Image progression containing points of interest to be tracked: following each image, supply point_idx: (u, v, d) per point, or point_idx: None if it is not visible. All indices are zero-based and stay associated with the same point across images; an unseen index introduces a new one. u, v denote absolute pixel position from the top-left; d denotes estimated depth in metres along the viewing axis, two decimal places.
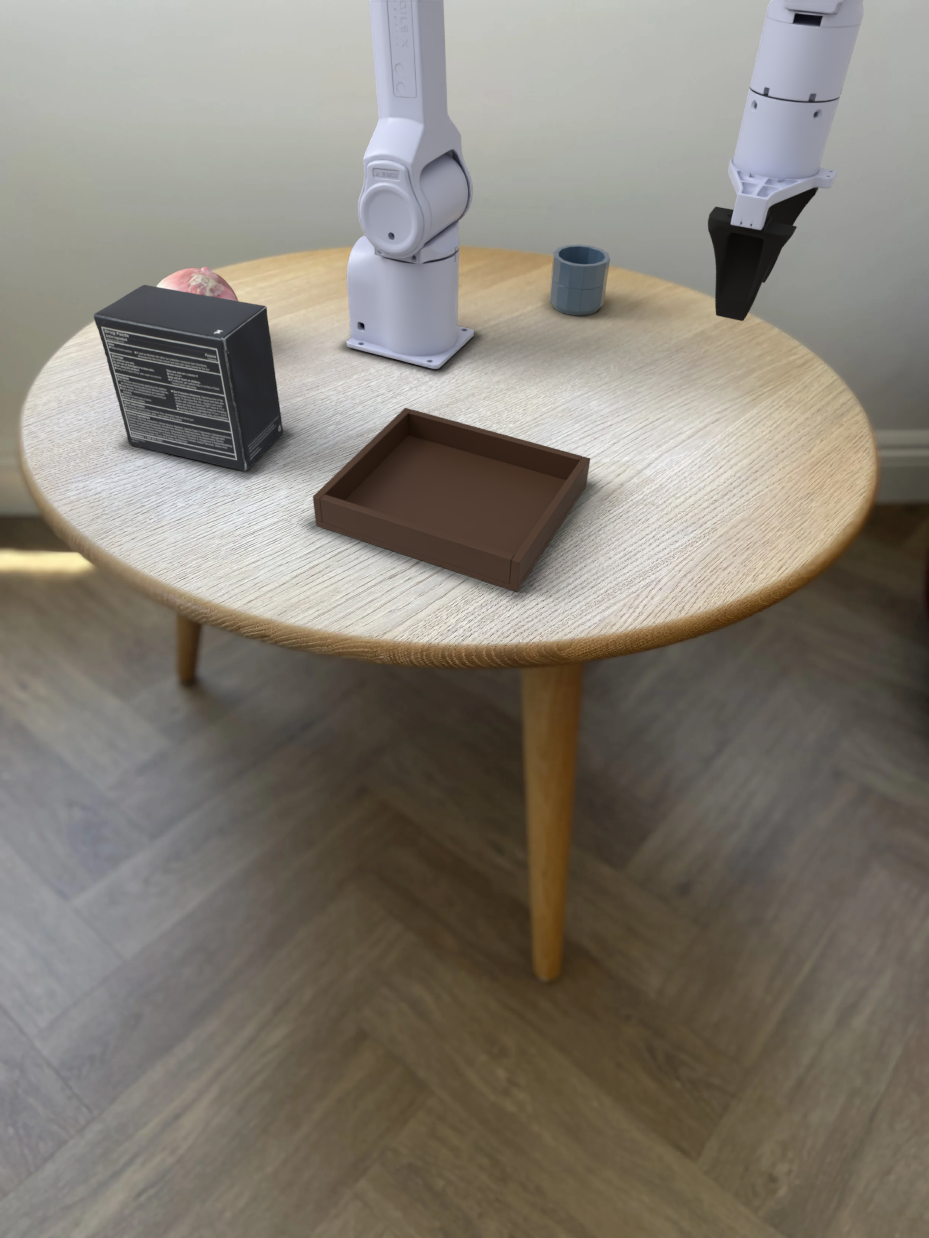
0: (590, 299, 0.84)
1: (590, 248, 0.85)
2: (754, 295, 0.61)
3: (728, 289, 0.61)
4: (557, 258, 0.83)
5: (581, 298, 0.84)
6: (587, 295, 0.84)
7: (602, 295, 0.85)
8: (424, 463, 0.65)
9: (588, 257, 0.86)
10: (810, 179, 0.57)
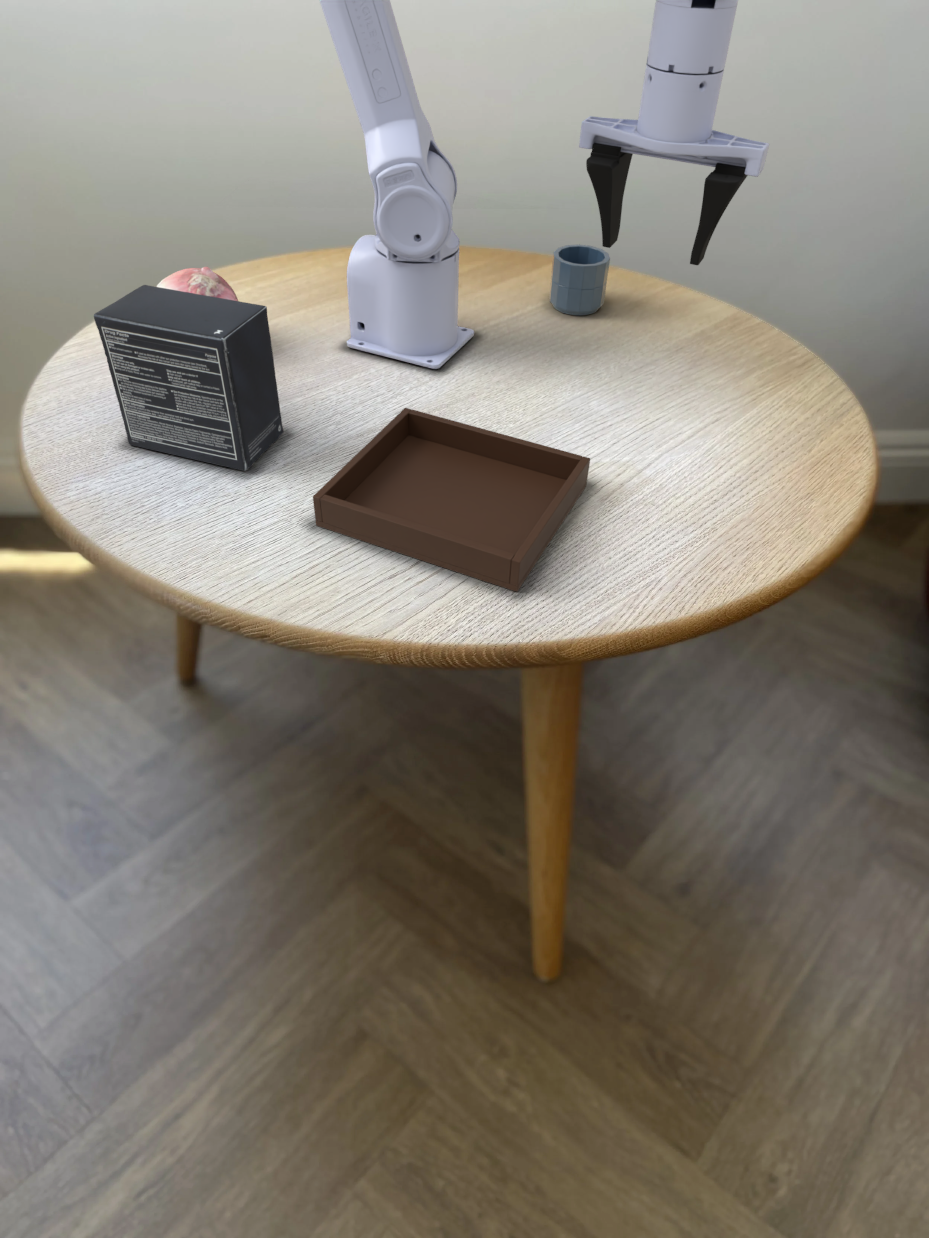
0: (590, 299, 0.84)
1: (590, 248, 0.85)
2: (713, 231, 0.72)
3: None
4: (557, 258, 0.83)
5: (581, 298, 0.84)
6: (587, 295, 0.84)
7: (602, 295, 0.85)
8: (424, 463, 0.65)
9: (588, 257, 0.86)
10: None
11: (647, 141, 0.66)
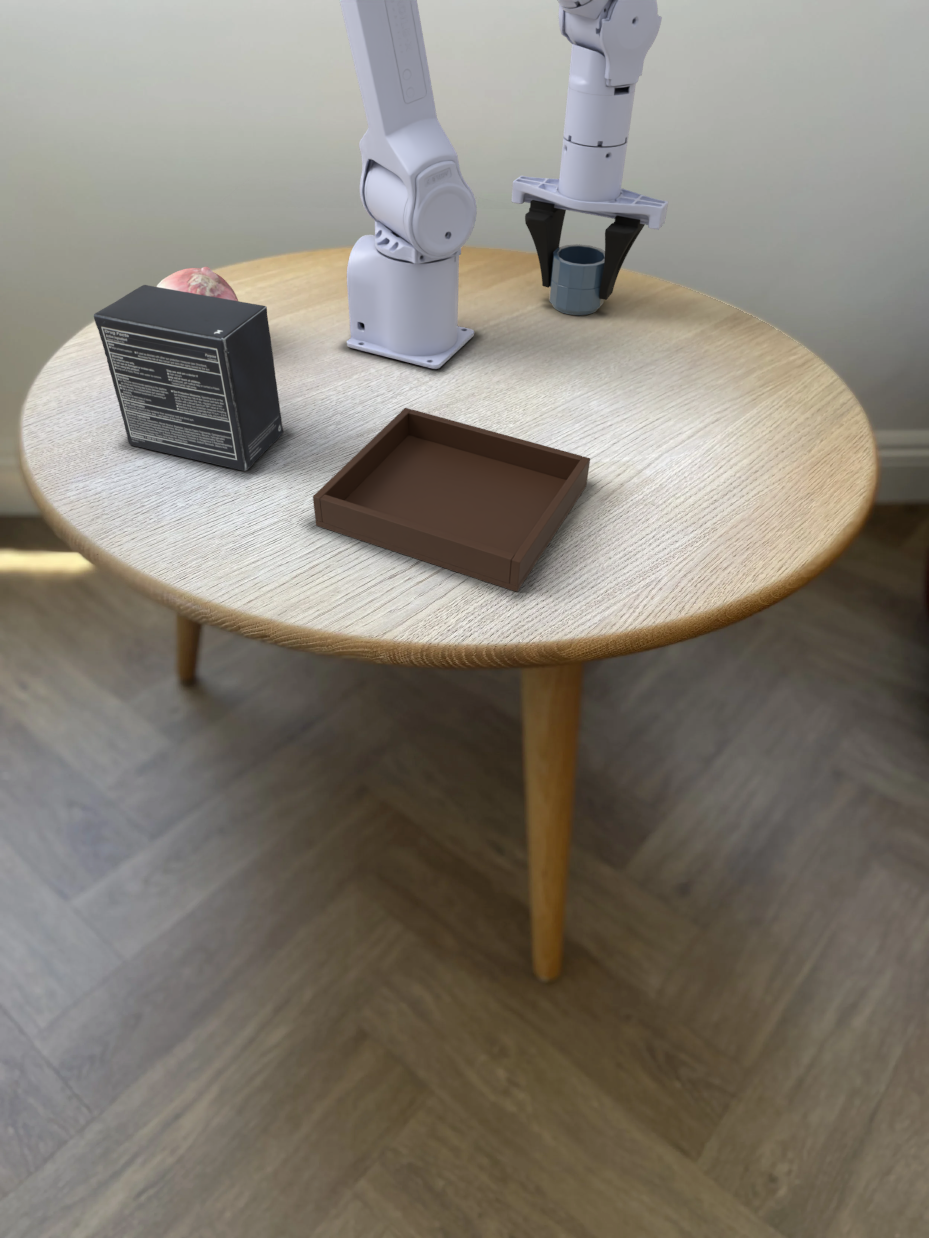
0: (590, 299, 0.84)
1: (590, 248, 0.85)
2: (619, 270, 0.84)
3: (612, 277, 0.83)
4: (557, 258, 0.83)
5: (581, 298, 0.84)
6: (586, 294, 0.84)
7: None
8: (424, 463, 0.65)
9: (588, 257, 0.86)
10: None
11: (565, 200, 0.78)
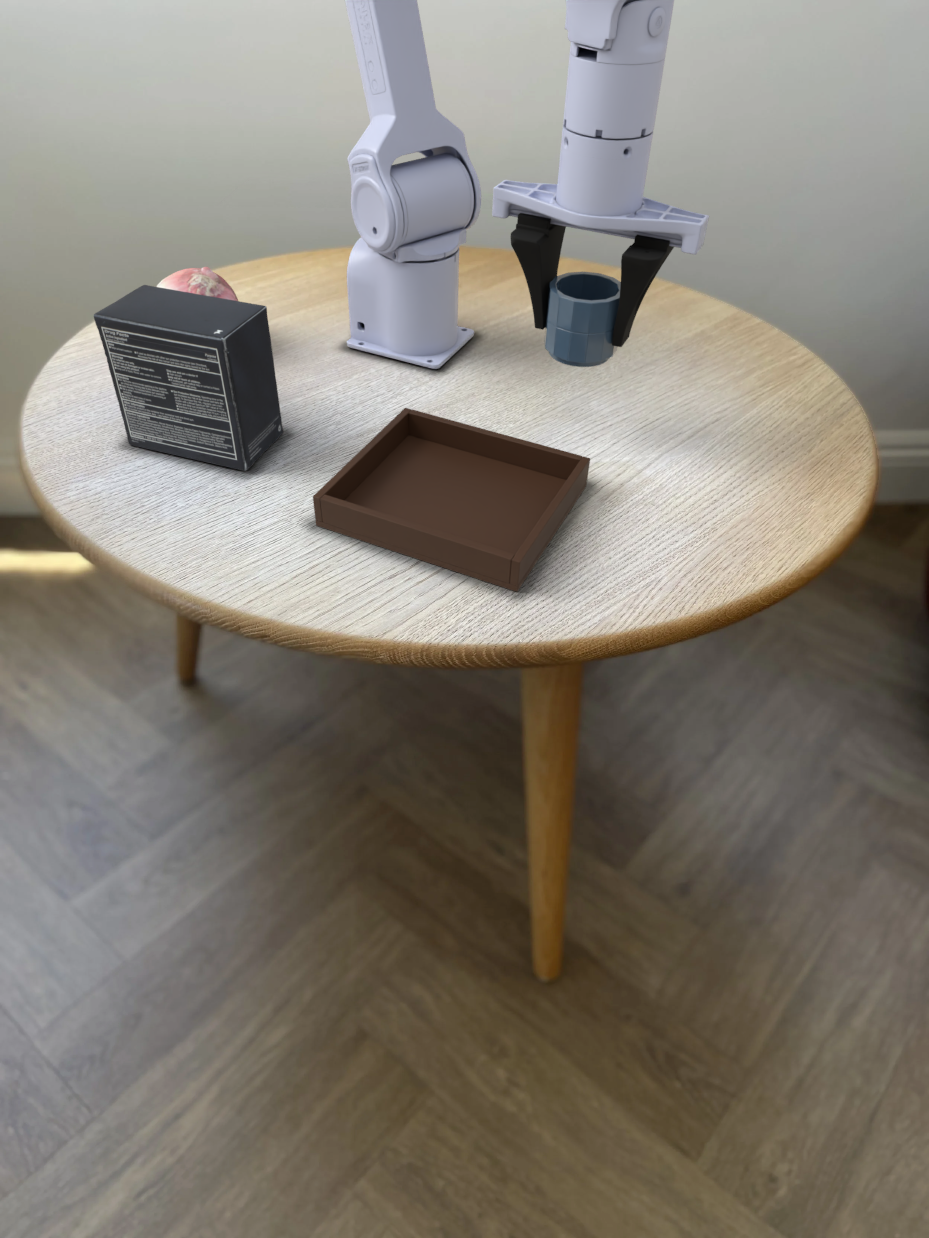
0: (599, 346, 0.62)
1: (599, 277, 0.63)
2: (638, 307, 0.62)
3: None
4: (555, 291, 0.61)
5: (587, 345, 0.62)
6: (595, 340, 0.62)
7: None
8: (424, 463, 0.65)
9: (596, 288, 0.64)
10: None
11: (566, 213, 0.56)
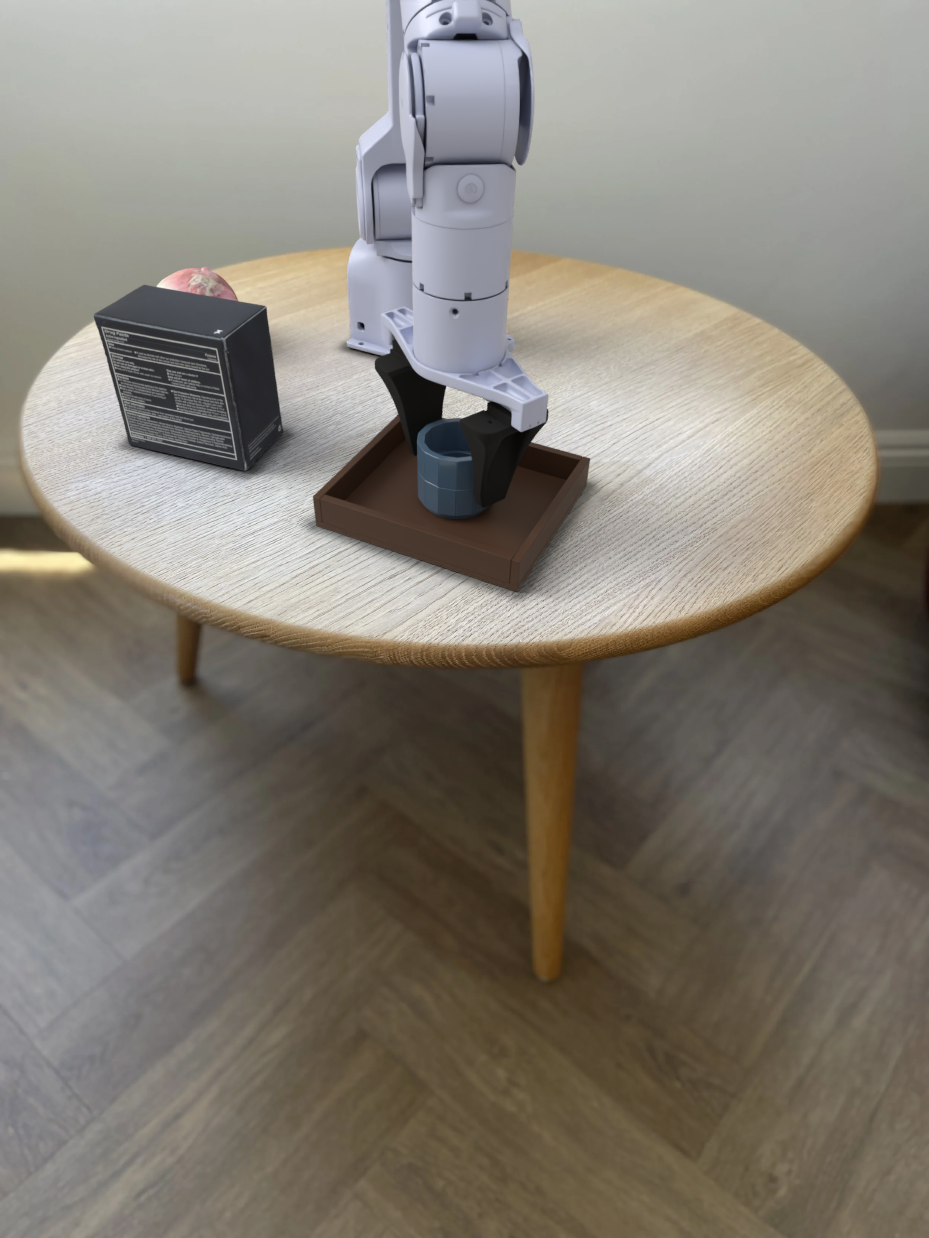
0: (453, 502, 0.59)
1: None
2: (514, 472, 0.57)
3: (491, 480, 0.56)
4: (419, 436, 0.59)
5: (439, 497, 0.59)
6: (447, 495, 0.58)
7: None
8: None
9: None
10: (508, 350, 0.54)
11: (411, 358, 0.54)
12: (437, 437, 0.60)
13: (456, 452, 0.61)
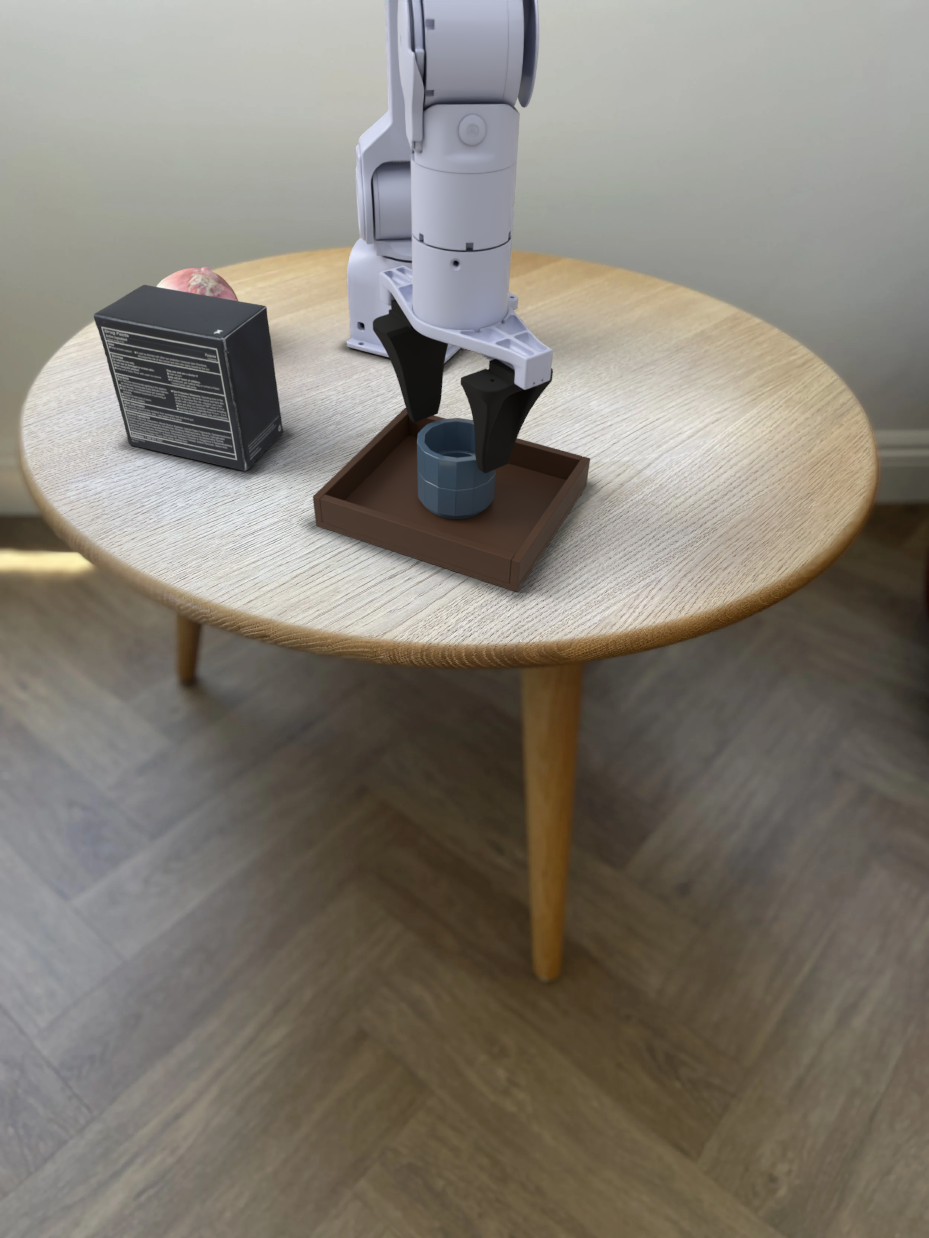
0: (453, 502, 0.59)
1: None
2: None
3: (493, 444, 0.54)
4: (419, 436, 0.59)
5: (439, 497, 0.59)
6: (447, 495, 0.58)
7: (477, 499, 0.59)
8: None
9: None
10: (511, 308, 0.52)
11: (410, 315, 0.52)
12: (437, 437, 0.60)
13: (456, 452, 0.61)
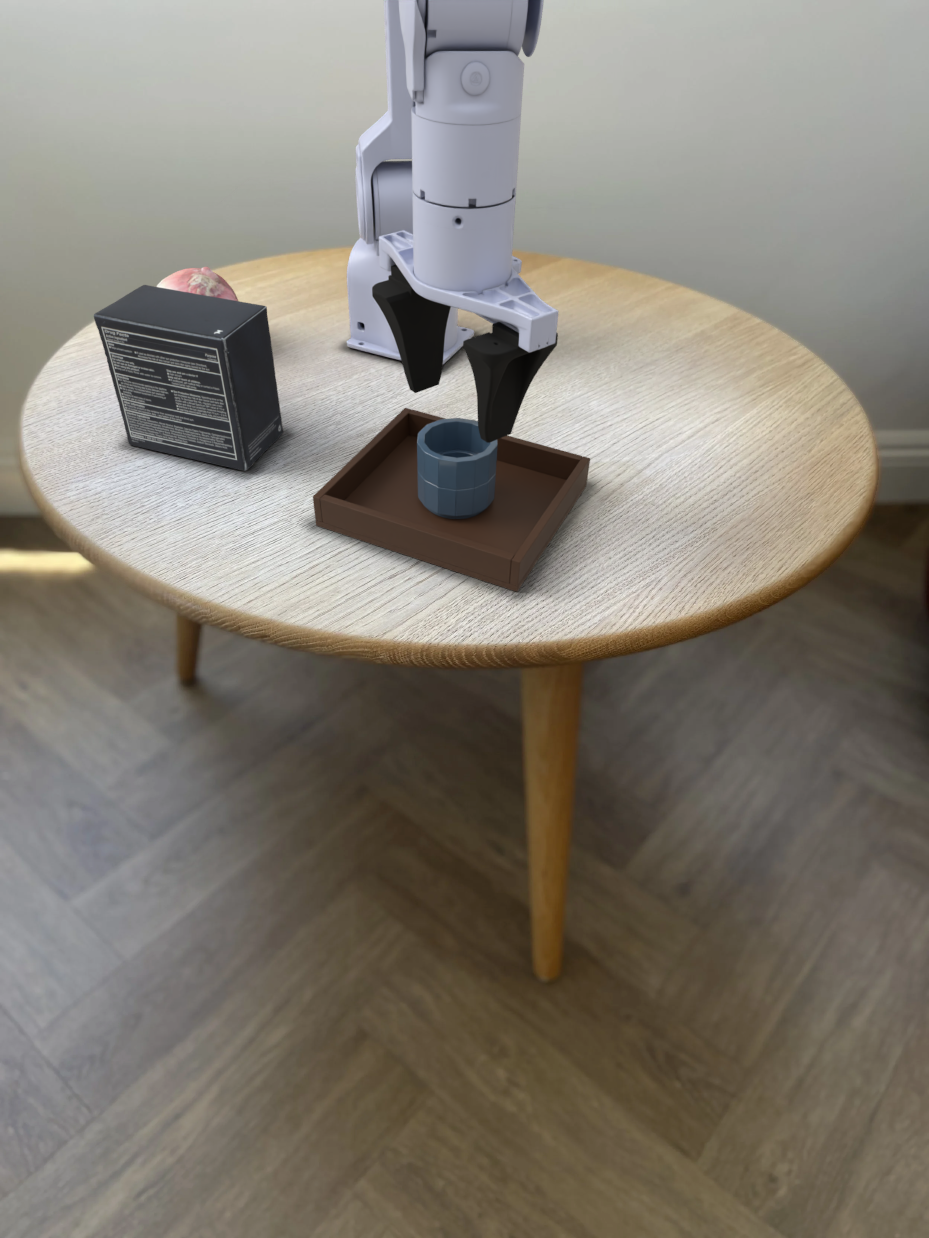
0: (453, 502, 0.59)
1: None
2: None
3: (496, 412, 0.53)
4: (419, 436, 0.59)
5: (439, 497, 0.59)
6: (447, 495, 0.58)
7: (477, 499, 0.59)
8: None
9: (482, 441, 0.60)
10: (514, 270, 0.51)
11: (411, 278, 0.50)
12: (437, 437, 0.60)
13: (456, 452, 0.61)
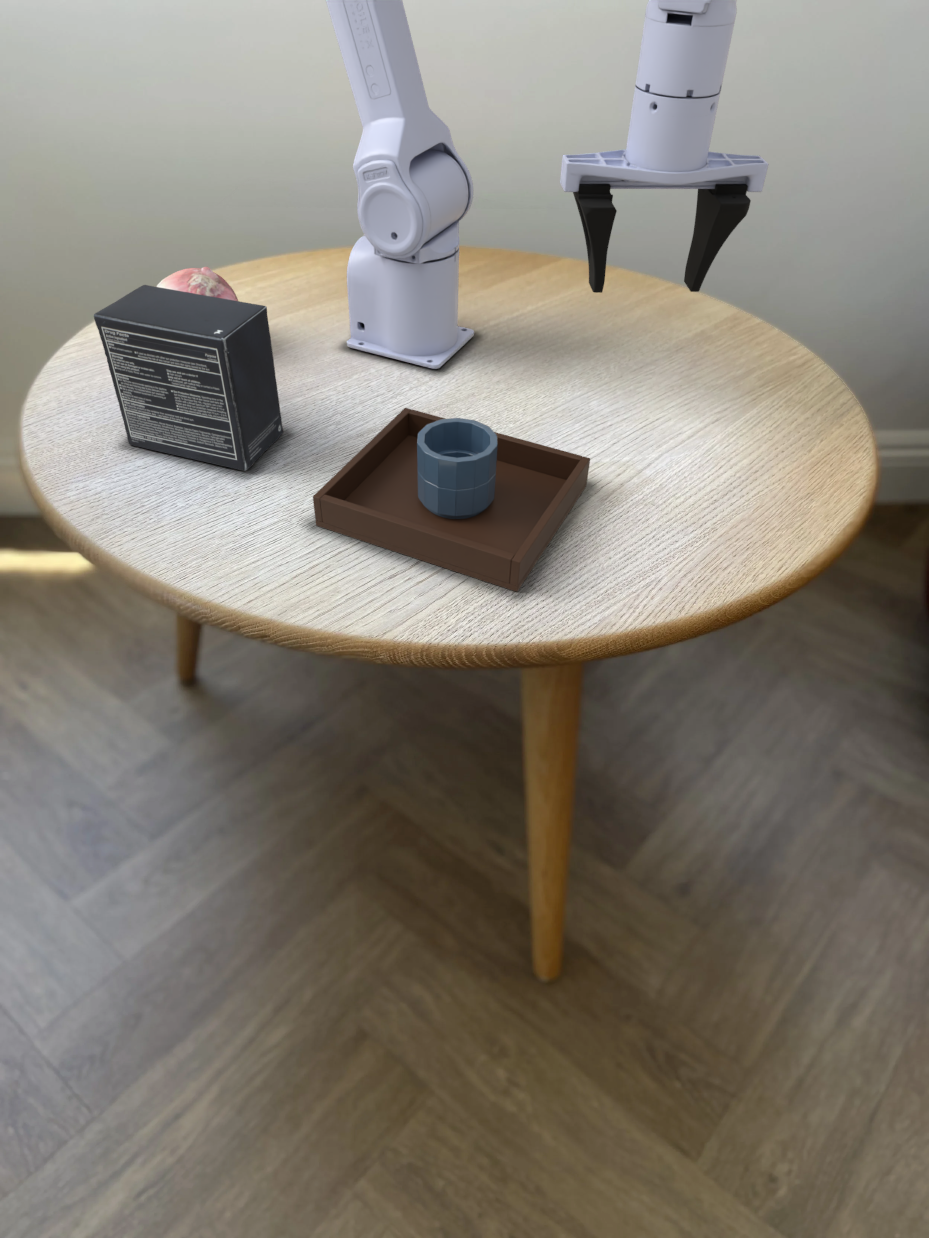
0: (453, 502, 0.59)
1: (485, 430, 0.60)
2: None
3: None
4: (419, 436, 0.59)
5: (439, 497, 0.59)
6: (447, 495, 0.58)
7: (477, 499, 0.59)
8: None
9: (482, 441, 0.60)
10: None
11: (657, 174, 0.59)
12: (437, 437, 0.60)
13: (456, 452, 0.61)
